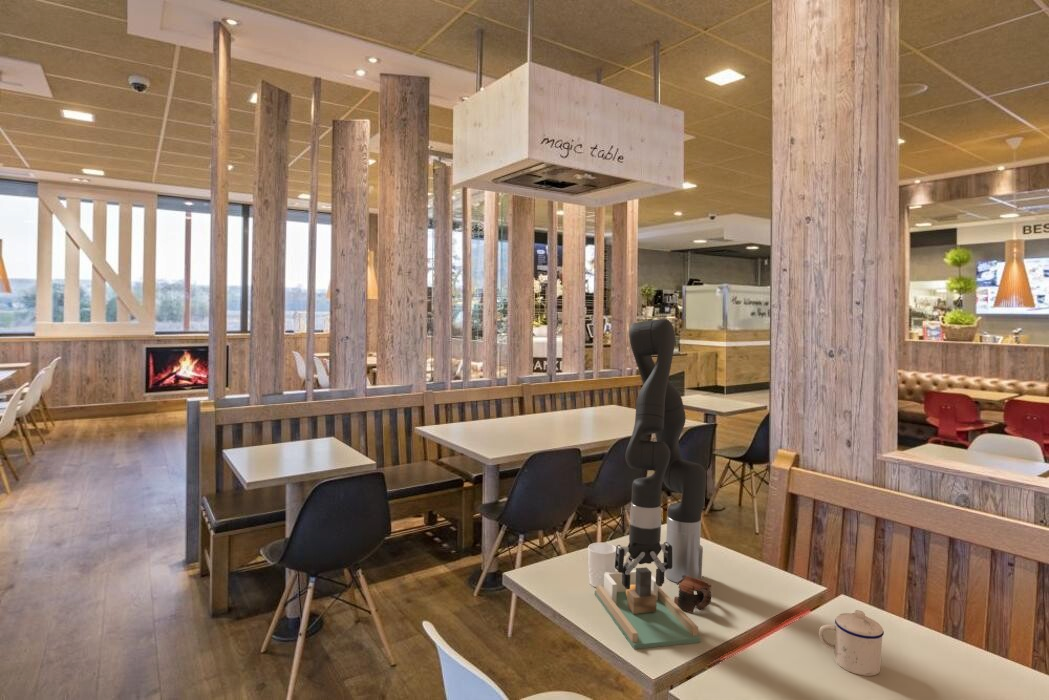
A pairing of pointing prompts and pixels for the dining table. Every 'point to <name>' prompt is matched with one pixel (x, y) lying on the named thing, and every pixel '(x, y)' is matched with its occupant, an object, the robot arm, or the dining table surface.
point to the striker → (642, 593)
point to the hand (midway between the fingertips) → (642, 586)
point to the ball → (632, 587)
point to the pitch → (646, 615)
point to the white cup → (600, 562)
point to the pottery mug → (687, 594)
